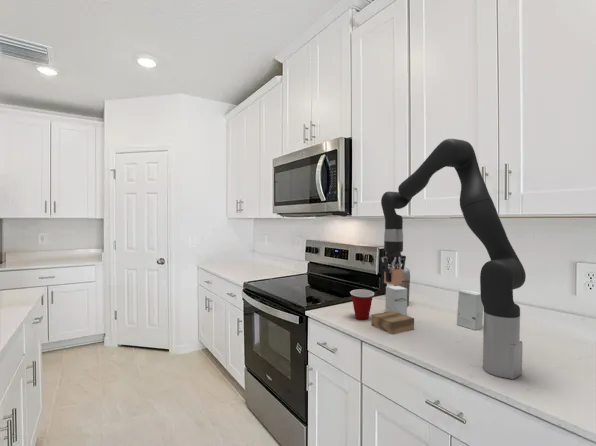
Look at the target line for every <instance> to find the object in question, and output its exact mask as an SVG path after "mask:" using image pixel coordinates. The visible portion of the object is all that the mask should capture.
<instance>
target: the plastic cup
mask: <svg viewBox="0 0 596 446" xmlns="http://www.w3.org/2000/svg"><path fill="white" fill-rule="evenodd" d="M349 293H350V296H351V300H352V307H353V311H354V317H355V319H356V320H359V321H367V320H368V319H369V317H370V312H371V309H372V307H371V306H372V301H373V299H374V296H375V292H374V291H372V290H369V289H362V288H361V289H360V288H359V289H353V290H351V291H349Z"/></svg>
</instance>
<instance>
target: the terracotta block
mask: <svg viewBox="0 0 596 446" xmlns="http://www.w3.org/2000/svg"><path fill="white" fill-rule="evenodd" d="M389 268H390V267H389ZM389 268H388V269H389ZM383 272H384V271H383ZM383 277H384V278H383V283H384V284H386V285H387V284H388V285H391V286H394V285H397V284H402V269H398V268H394V267H393V268H392V272H391V282H387V281H386V272H384V273H383Z"/></svg>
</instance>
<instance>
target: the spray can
mask: <svg viewBox="0 0 596 446" xmlns="http://www.w3.org/2000/svg"><path fill="white" fill-rule="evenodd" d="M397 268H398V267H397ZM393 286H401V287H404V288H407V307H408V306H409V304H410V289H411V288H410V286H411V271H410V268H409V267H406V266H404V270H402V284H397V285H393Z"/></svg>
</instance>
